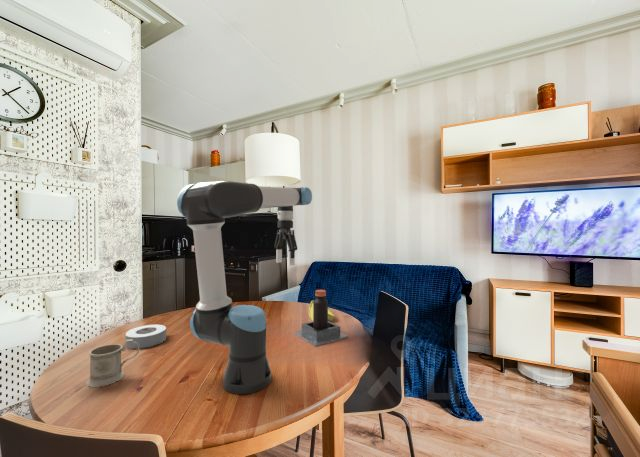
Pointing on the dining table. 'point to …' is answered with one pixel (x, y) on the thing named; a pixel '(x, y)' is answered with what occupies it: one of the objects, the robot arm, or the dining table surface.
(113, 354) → the mug
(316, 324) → the vinegar
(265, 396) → the dining table surface
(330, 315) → the plastic component
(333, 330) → the duct collar
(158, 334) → the tape roll
